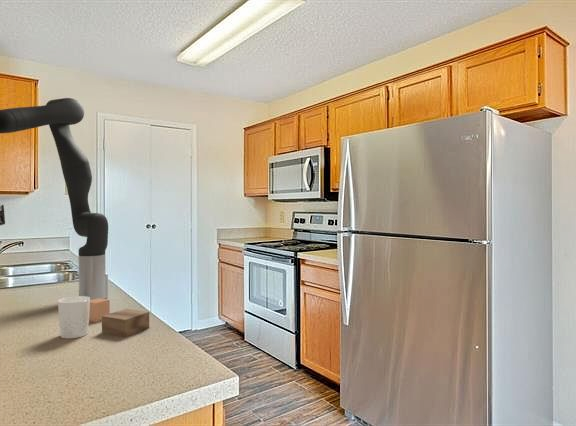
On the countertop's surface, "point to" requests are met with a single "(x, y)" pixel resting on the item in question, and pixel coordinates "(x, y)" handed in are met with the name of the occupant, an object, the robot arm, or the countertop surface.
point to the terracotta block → (98, 309)
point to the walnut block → (125, 322)
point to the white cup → (74, 316)
